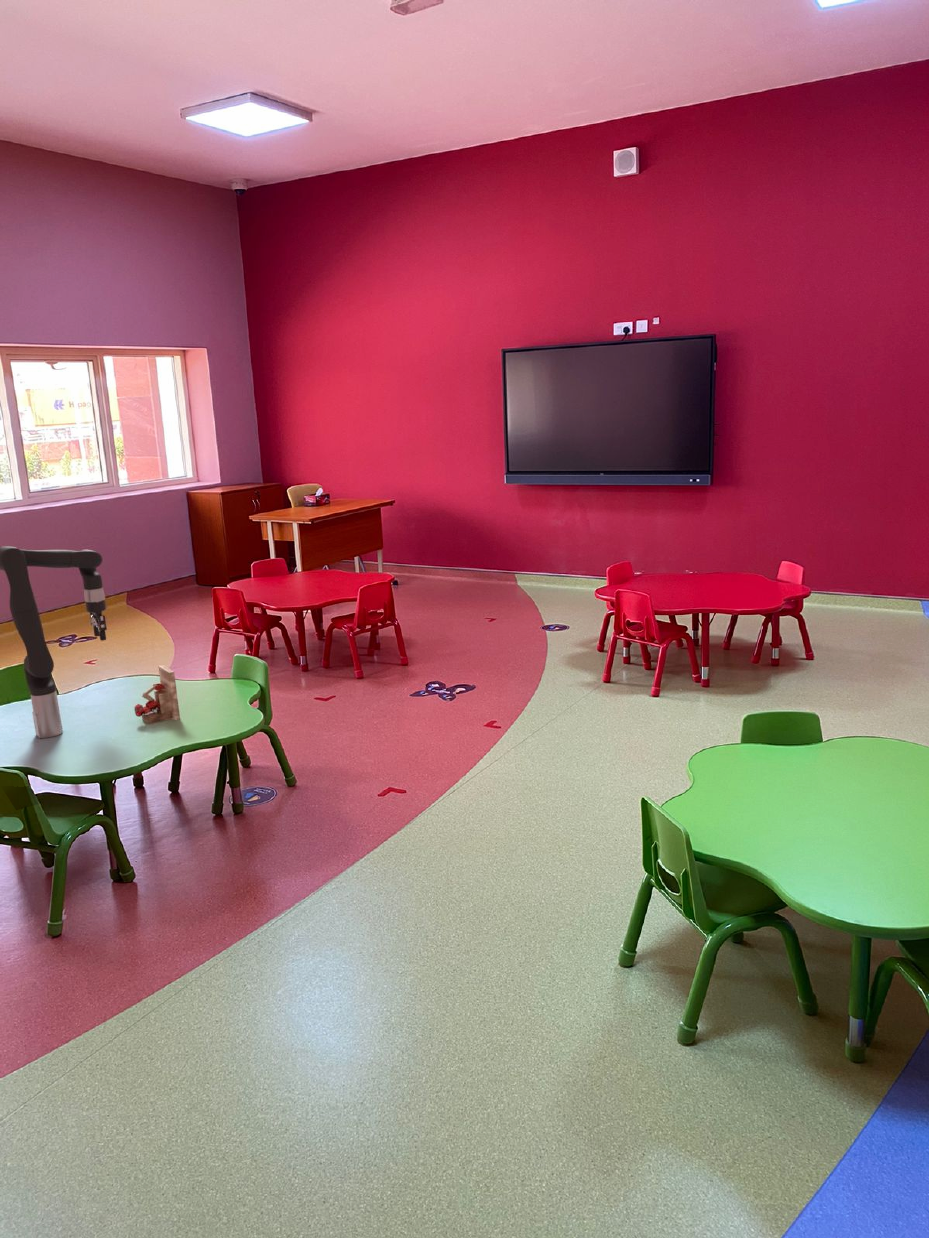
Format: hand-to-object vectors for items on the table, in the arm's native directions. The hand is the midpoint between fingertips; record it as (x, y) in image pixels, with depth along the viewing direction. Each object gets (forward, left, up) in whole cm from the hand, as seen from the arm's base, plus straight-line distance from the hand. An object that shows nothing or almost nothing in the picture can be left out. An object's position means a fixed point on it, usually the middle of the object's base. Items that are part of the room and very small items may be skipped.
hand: (100, 638), depth 372 cm
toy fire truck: (+11, -20, -29) cm, 37 cm away
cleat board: (+13, -20, -33) cm, 41 cm away
